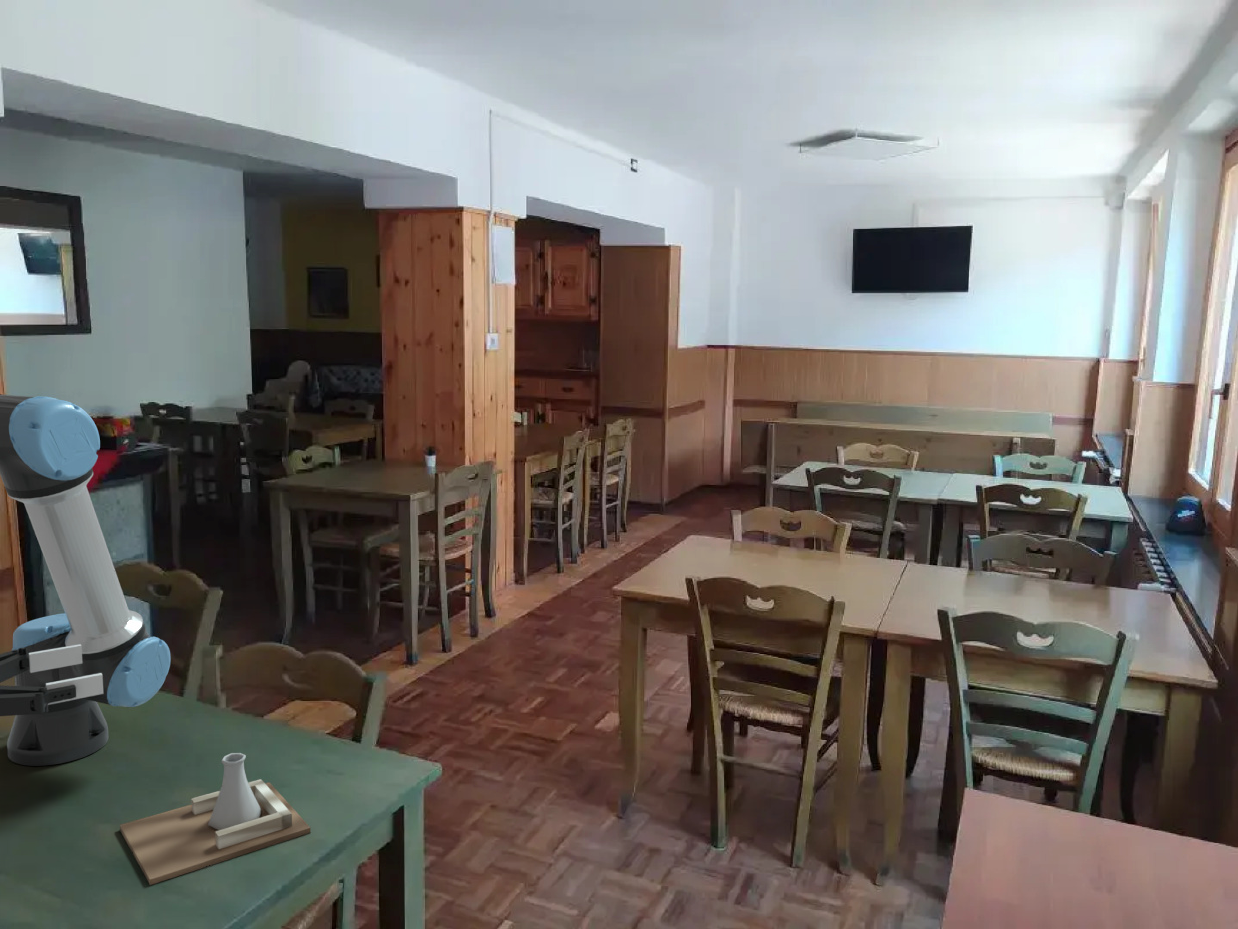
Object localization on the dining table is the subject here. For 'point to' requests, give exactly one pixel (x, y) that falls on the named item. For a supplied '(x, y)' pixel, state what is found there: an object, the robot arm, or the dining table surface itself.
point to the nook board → (208, 834)
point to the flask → (234, 796)
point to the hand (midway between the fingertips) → (91, 668)
